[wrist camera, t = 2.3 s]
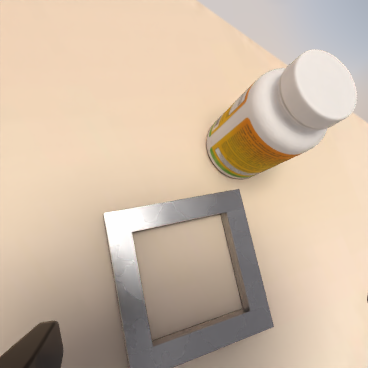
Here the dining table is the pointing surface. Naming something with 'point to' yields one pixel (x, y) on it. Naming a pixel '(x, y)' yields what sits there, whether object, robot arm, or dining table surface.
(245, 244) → the frame
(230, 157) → the supplement bottle
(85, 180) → the dining table surface
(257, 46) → the dining table surface
